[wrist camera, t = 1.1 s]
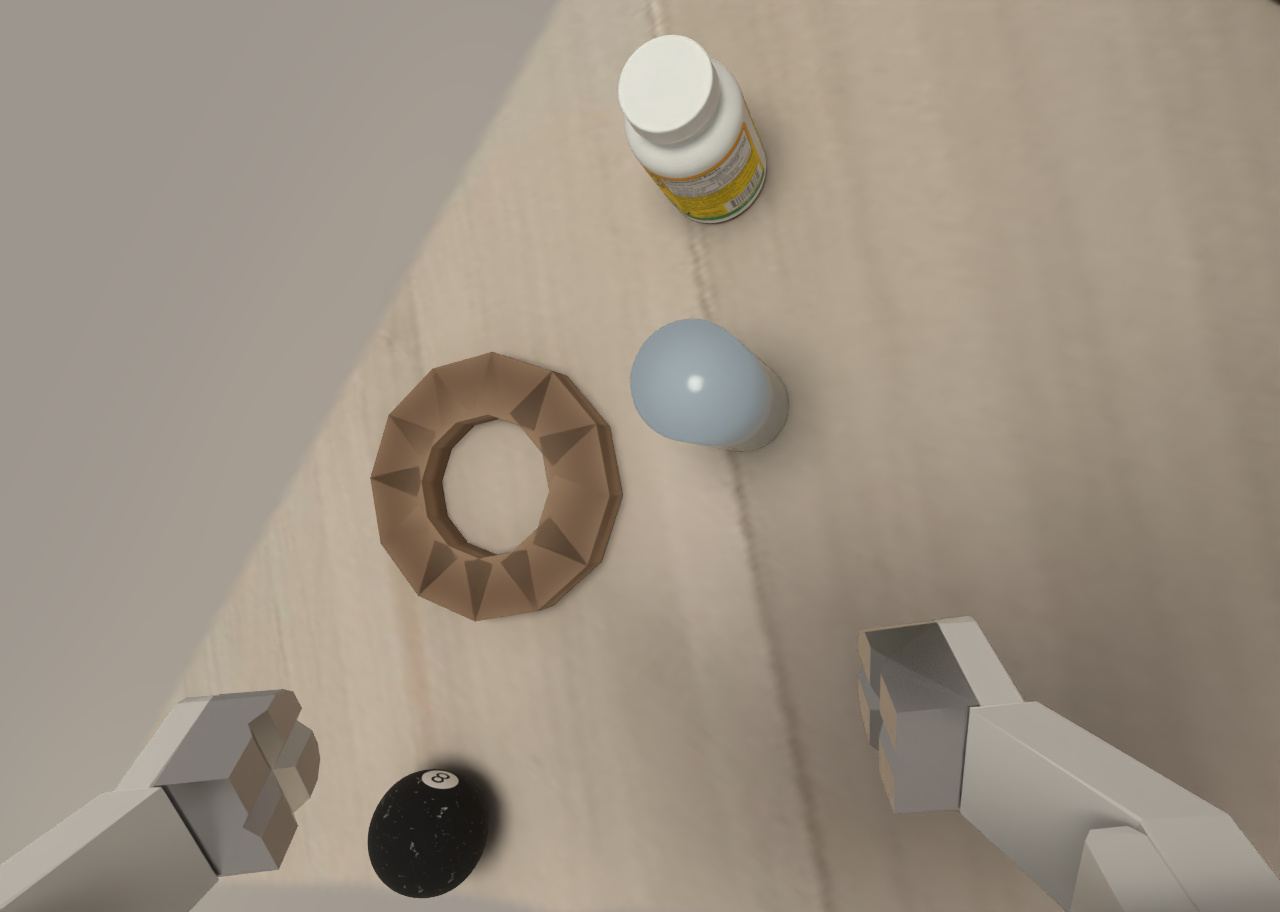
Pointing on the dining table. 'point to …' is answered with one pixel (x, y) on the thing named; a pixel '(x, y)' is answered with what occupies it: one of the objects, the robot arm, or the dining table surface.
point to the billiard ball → (428, 833)
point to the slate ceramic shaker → (707, 388)
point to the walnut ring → (574, 478)
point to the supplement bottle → (691, 129)
